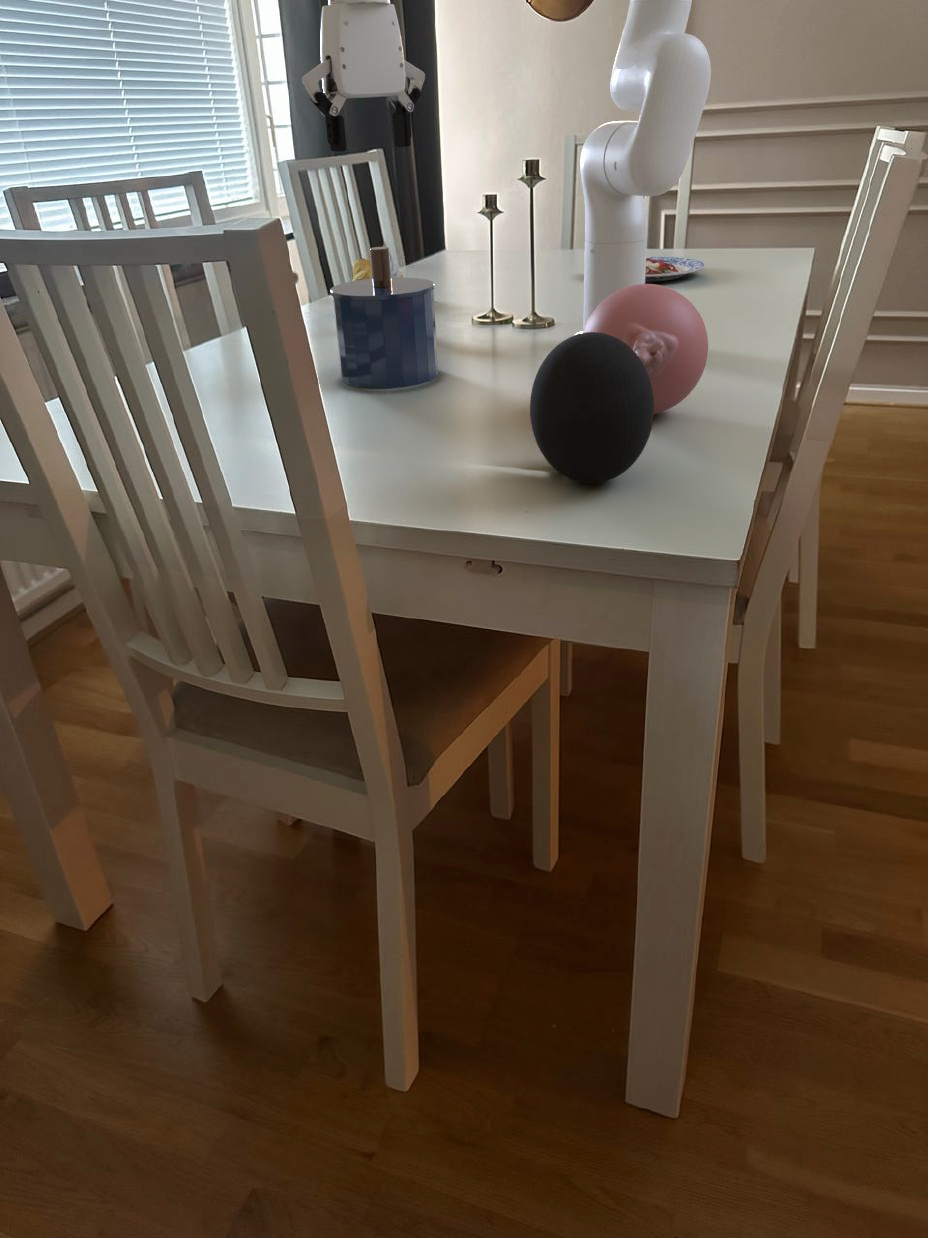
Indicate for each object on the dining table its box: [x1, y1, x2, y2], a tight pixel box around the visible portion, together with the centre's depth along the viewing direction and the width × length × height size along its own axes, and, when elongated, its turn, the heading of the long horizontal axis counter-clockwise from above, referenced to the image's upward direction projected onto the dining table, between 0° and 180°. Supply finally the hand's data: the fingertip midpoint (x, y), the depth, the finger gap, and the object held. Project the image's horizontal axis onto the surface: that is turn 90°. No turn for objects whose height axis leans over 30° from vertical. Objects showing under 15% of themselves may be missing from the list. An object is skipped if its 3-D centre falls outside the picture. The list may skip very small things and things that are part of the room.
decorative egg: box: [529, 332, 655, 484], centre depth 93 cm, size 12×12×15 cm
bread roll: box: [352, 257, 404, 281], centre depth 190 cm, size 13×10×8 cm
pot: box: [332, 290, 439, 390], centre depth 133 cm, size 14×14×12 cm
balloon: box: [582, 283, 709, 415], centre depth 111 cm, size 15×20×15 cm
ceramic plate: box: [645, 256, 706, 283], centre depth 203 cm, size 26×26×3 cm
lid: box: [329, 246, 435, 301], centre depth 129 cm, size 15×15×6 cm
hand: (371, 148), depth 121 cm, fingers open, 9 cm apart
